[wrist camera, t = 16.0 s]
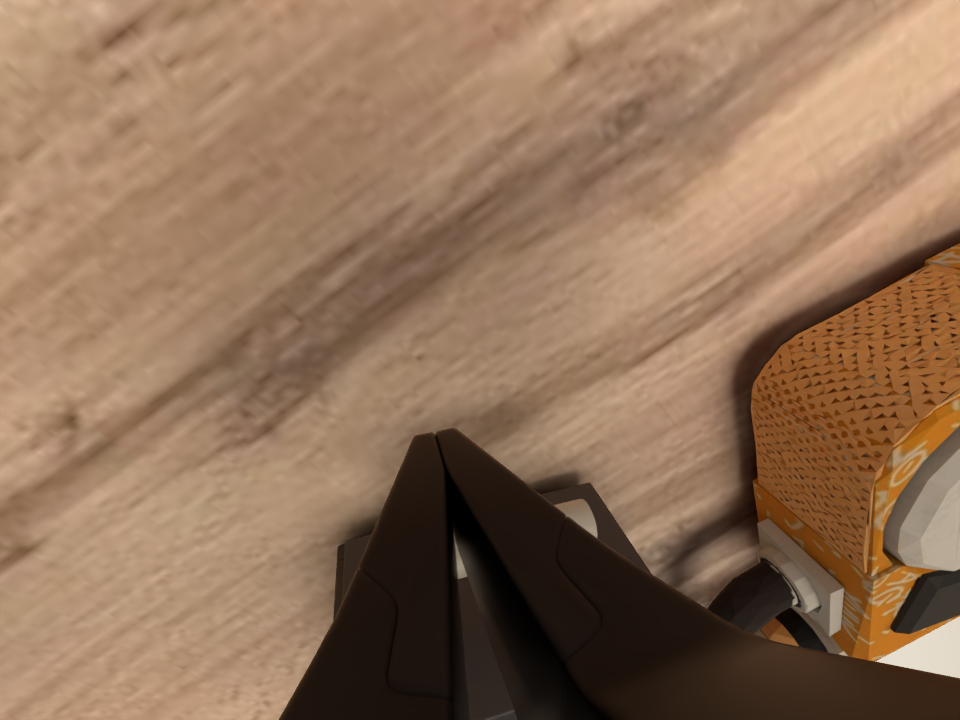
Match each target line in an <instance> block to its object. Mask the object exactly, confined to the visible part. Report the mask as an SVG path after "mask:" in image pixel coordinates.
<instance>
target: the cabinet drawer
mask: <svg viewBox="0 0 960 720" xmlns="http://www.w3.org/2000/svg"><path fill="white" fill-rule="evenodd" d="M540 495H542V496H543V497H544V498H546V499H547V500H548V501H549V502H551V503H552V504H553V505H554V506H556V507H557V508H558V509H560V510H561V511H562V512H563V513H565V515H566V517H570V518H571V519H573V520H574V521H575V522H576V523H578V524H579V525H580V526H582V527H583V528H584V529H585V530H587V531H588V532H590V533H591V534H592V535H594V536H595V537H596V538H598V539H599V540H600V541H602V542H603V543H604V544H606V545H607V546H609V547H610V548H612V549H613V550H615V551H616V552H618V553H619V554H621V555H622V556H624V557H625V558H627V559H628V560H630V561H631V562H633V563H634V564H636V565H637V566H639V567H641V568H642V569H644V570H645V571H647V572H649V573H650V571H649V570H648V568H647V567H646V565H645V564H644V562H643V561H642V559H641V558H640V556H639V555H638V553H637V552H636V550H635V549H634V547H633V546H632V544H631V543H630V541H629V540H628V538H627V537H626V535H625V534H624V532H623V531H622V529H621V528H620V526H619V525H618V523H617V522H616V520H615V519H614V517H613V516H612V514H611V513H610V511H609V510H608V508H607V507H606V505H605V504H604V502H603V501H602V499H601V498H600V496H599V495H598V493H597V492H596V490H595V489H594V488H593V486H592V485H591V483H586V484H582V485H578V486H573V487H569V488H565V489H561V490H556V491H552V492H548V493H544V494H540ZM371 535H372V534H371ZM371 535H367V536H363V537H359V538H354V539H350V540H346V541H345V551H344V574H343V596H342V602H343V599H344V597H345V595H346V593H347V591H348V589H349V586H350V584H351V582H352V579H353V577H354V574H355V572H356V570H358V566H359V563H360V561H361V559H362V556H363V554H364V552H365V549H366V547H367V545H368V542H369V540H370V538H371ZM454 540H455V537H454ZM455 549H456V559H457V571H458V583H459V595H460V607H461V619H462V631H463V643H464V656H465V668H466V680H467V692H468V704H469V716H470V720H518V719H517V716H516V713H515V710H514V708H513V705H512V702H511V699H510V696H509V693H508V690H507V688H506V685H505V682H504V679H503V676H502V673H501V671H500V668H499V665H498V662H497V659H496V656H495V653H494V651H493V648H492V645H491V642H490V639H489V636H488V634H487V631H486V628H485V625H484V622H483V619H482V617H481V614H480V611H479V608H478V605H477V602H476V599H475V597H474V594H473V591H472V588H471V585H470V582H469V580H468V577H467V574H466V571H465V568H464V565H463V562H462V560H461V557H460V554H459V551H458V548H457V544H456V541H455ZM650 574H651V573H650Z"/></svg>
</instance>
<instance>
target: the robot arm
mask: <svg viewBox="0 0 960 720" xmlns="http://www.w3.org/2000/svg"><path fill="white" fill-rule="evenodd" d="M454 537H455V540H454ZM455 541H456V544H457V548H458V551H459V554H460V557H461V560H462V562H463V565H464V568H465V571H466V574H467V577H468V580H469V582H470V585H471V588H472V591H473V594H474V597H475V599H476V602H477V605H478V608H479V611H480V614H481V617H482V619H483V622H484V625H485V628H486V631H487V634H488V636H489V639H490V642H491V645H492V648H493V651H494V653H495V656H496V659H497V662H498V665H499V668H500V671H501V673H502V676H503V679H504V682H505V685H506V688H507V690H508V693H509V696H510V699H511V702H512V705H513V708H514V710H515V713H516V716H517V719H518V720H960V678H955V677H950V676H945V675H940V674H935V673H929V672H924V671H919V670H914V669H909V668H904V667H899V666H894V665H889V664H884V663H879V662H874V661H869V660H864V659H859V658H854V657H849V656H844V655H839V654H834V653H829V652H824V651H819V650H814V649H809V648H804V647H799V646H794V645H789V644H784V643H780V642H775V641H772V640H769V639H766V638H763V637H760V636H758V635H755V634H753V633H750V632H748V631H746V630H743V629H741V628H739V627H737V626H735V625H733V624H731V623H729V622H728V621H726V620H724V619H723V618H721V617H719V616H717V615H716V614H714V613H712V612H711V611H709V610H708V609H706V608H704V607H703V606H701V605H700V604H698V603H696V602H695V601H693V600H692V599H690V598H688V597H687V596H685V595H684V594H682V593H680V592H679V591H677V590H676V589H674V588H672V587H671V586H669V585H668V584H666V583H664V582H663V581H661V580H660V579H658V578H656V577H655V576H653V575H652V574H650V573H649V572H647V571H645V570H644V569H642V568H641V567H639V566H637V565H636V564H634V563H633V562H631V561H630V560H628V559H627V558H625V557H624V556H622V555H621V554H619V553H618V552H616V551H615V550H613V549H612V548H610V547H609V546H607V545H606V544H604V543H603V542H602V541H600V540H599V539H598V538H596V537H595V536H594V535H592V534H591V533H590V532H588V531H587V530H585V529H584V528H583V527H582V526H580V525H579V524H578V523H576V522H575V521H574V520H573V519H571V518H570V517H566V515H565V513H563V512H562V511H561V510H560V509H558V508H557V507H556V506H554V505H553V504H552V503H551V502H549V501H548V500H547V499H546V498H544V497H543V496H542V495H540V494H539V493H538V492H537V491H535V490H534V489H533V488H531V487H530V486H529V485H528V484H526V483H525V482H524V481H522V480H521V479H520V478H519V477H517V476H516V475H515V474H514V473H512V472H511V471H510V470H508V469H507V468H506V467H505V466H503V465H502V464H501V463H499V462H498V461H497V460H496V459H494V458H493V457H492V456H491V455H489V454H488V453H487V452H485V451H484V450H483V449H482V448H480V447H479V446H478V445H476V444H475V443H474V442H473V441H471V440H470V439H469V438H467V437H466V436H465V435H464V434H462V433H461V432H460V431H459V430H457V429H455V428H451V429H446V430H441V431H437V432H436V434H434V433H426V434H421V435H416V436H414V438H413V439H412V442H411V444H410V446H409V449H408V451H407V453H406V456H405V458H404V460H403V463H402V465H401V467H400V470H399V472H398V474H397V477H396V479H395V481H394V484H393V486H392V488H391V491H390V493H389V495H388V498H387V500H386V503H385V505H384V507H383V510H382V512H381V514H380V517H379V519H378V521H377V524H376V526H375V528H374V531H373V533H372V535H371V538H370V540H369V542H368V545H367V547H366V549H365V552H364V554H363V556H362V559H361V561H360V563H359V566H358V570H356V572H355V574H354V577H353V579H352V582H351V584H350V586H349V589H348V591H347V593H346V595H345V597H344V599H343V602H342V604H341V606H340V608H339V610H338V612H337V614H336V617H335V619H334V621H333V623H332V625H331V627H330V629H329V630H328V632H327V634H326V636H325V638H324V640H323V642H322V643H321V645H320V647H319V649H318V651H317V653H316V655H315V656H314V658H313V660H312V662H311V664H310V665H309V667H308V669H307V671H306V672H305V674H304V676H303V678H302V680H301V681H300V683H299V685H298V687H297V688H296V690H295V692H294V694H293V695H292V697H291V699H290V701H289V702H288V704H287V706H286V708H285V710H284V711H283V713H282V715H281V717H280V718H279V720H470V716H469V704H468V692H467V680H466V668H465V656H464V643H463V631H462V619H461V607H460V595H459V583H458V571H457V559H456V549H455Z"/></svg>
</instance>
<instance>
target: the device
mask: <svg viewBox="0 0 960 720" xmlns="http://www.w3.org/2000/svg"><path fill="white" fill-rule="evenodd" d="M751 415H752V422H753V429H754V436H755V446H756V459H757V472H758V478H756V479H755V480H753V488H754V495H755V501H756V508H757V515H758V522H759V523H757V526H758V534H759V542H760V550H759V551H758V552H756V553H757V560H758V563H759V564H757V565H756V566H754V567H752V568H751V569H749V570H747V571H746V572H744V573H742V574H741V575H739V576H738V577H736V578H734V579H733V580H732V581H731V582H730V583H729V584H728V585H727V586H726V587H725V588H724V589H723V590H722V591H721V593H720V594H719V595H718V596H717V597H716V598H715V599H714V601H713V602H712V603H711V604H710V606H709V607H708V608H707V609H708V610H709V611H711V612H712V613H714V614H716V615H717V616H719V617H721V618H723V619H724V620H726V621H728V622H729V623H731V624H733V625H735V626H737V627H739V628H741V629H743V630H746V631H748V632H750V633H753V634H755V635H758V636H760V637H763V638H766V639H769V640H772V641H775V642H780V643H784V644H789V645H794V646H799V647H804V648H809V649H814V650H819V651H824V652H829V653H834V654H839V655H844V656H849V657H854V658H859V659H864V660H869V661H874V662H875V661H877V660H879V659H881V658H882V657H884V656H886V655H888V654H890V653H892V652H894V651H896V650H897V649H899V648H901V647H903V646H905V645H907V644H909V643H911V642H912V641H914V640H916V639H918V638H920V637H922V636H924V635H925V634H927V633H929V632H931V631H933V630H935V629H937V628H939V627H940V626H942V625H944V624H946V623H948V622H950V621H952V620H953V619H955V618H957V617H959V616H960V243H959V244H957V245H955V246H953V247H951V248H949V249H947V250H945V251H943V252H941V253H939V254H937V255H935V256H933V257H931V258H929V259H927V260H925V266H924V267H923V268H921V269H919V270H917V271H916V272H914V273H912V274H910V275H908V276H906V277H905V278H903V279H901V280H899V281H897V282H895V283H894V284H892V285H890V286H888V287H886V288H885V289H883V290H881V291H879V292H877V293H875V294H874V295H872V296H870V297H868V298H866V299H864V300H863V301H861V302H859V303H857V304H855V305H854V306H852V307H850V308H848V309H846V310H844V311H843V312H841V313H839V314H837V315H835V316H833V317H831V318H829V319H827V320H825V321H823V322H821V323H819V324H817V325H815V326H813V327H811V328H809V329H807V330H805V331H803V332H801V333H799V334H797V335H795V336H794V337H793V338H792V339H791V340H790V341H788V342H786V343H784V344H782V345H781V346H780V347H779V349H778V350H777V351H776V353H775V354H774V355H773V357H772V358H771V359H770V360H769V361H768V362H767V363H766V364H765V366H764V368H763V369H762V371H761V372H760V374H759V376H758V377H757V379H756V380H755V382H754V383H753V388H752V401H751Z"/></svg>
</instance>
